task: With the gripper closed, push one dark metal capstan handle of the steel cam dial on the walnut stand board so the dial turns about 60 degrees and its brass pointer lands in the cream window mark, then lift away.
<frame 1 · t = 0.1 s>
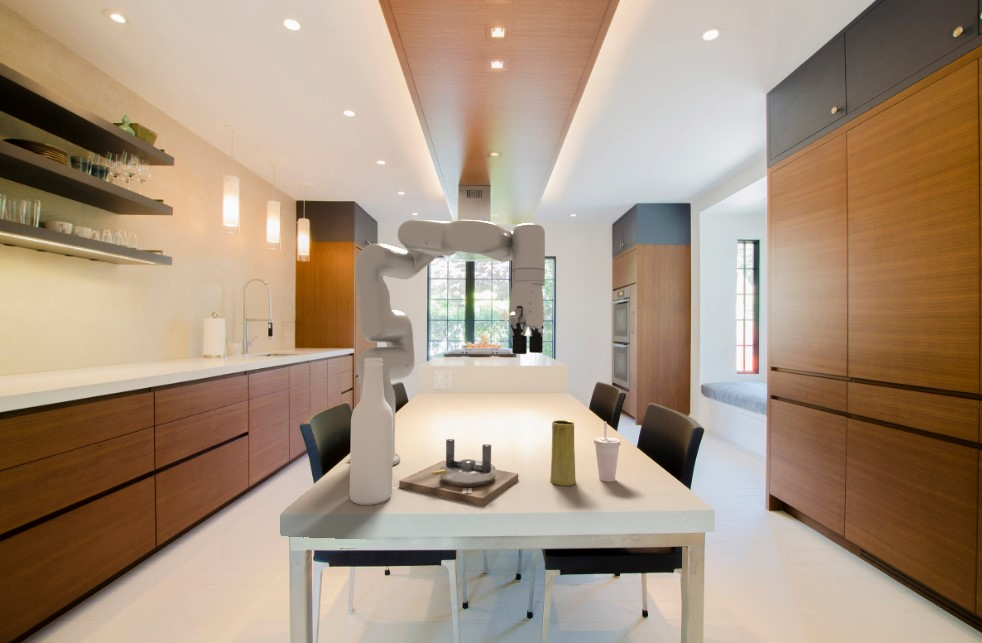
hand: (528, 353, 96), 31 cm above the table, tool pointing down, fingers open, 9 cm apart
vase: (563, 482, 101), on the table
smoothie: (607, 480, 103), on the table
stand board: (460, 483, 99), on the table
alcohol: (371, 498, 90), on the table
cam dial: (466, 460, 98), point 6 cm above the table, hinge at 0.0°
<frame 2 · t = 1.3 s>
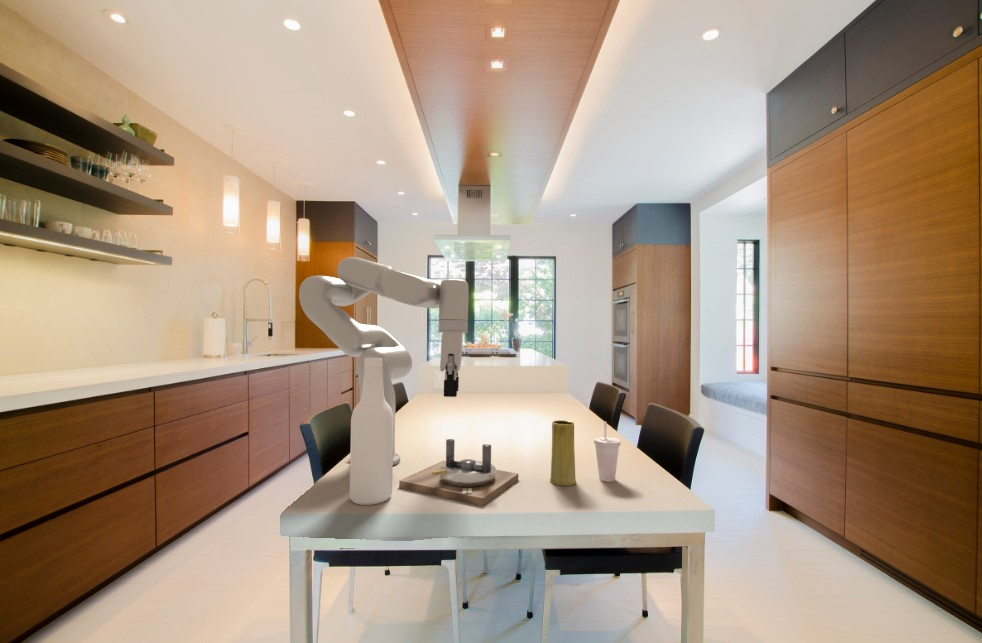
hand: (451, 393, 108), 20 cm above the table, tool pointing down, fingers open, 9 cm apart
nothing on the table moved.
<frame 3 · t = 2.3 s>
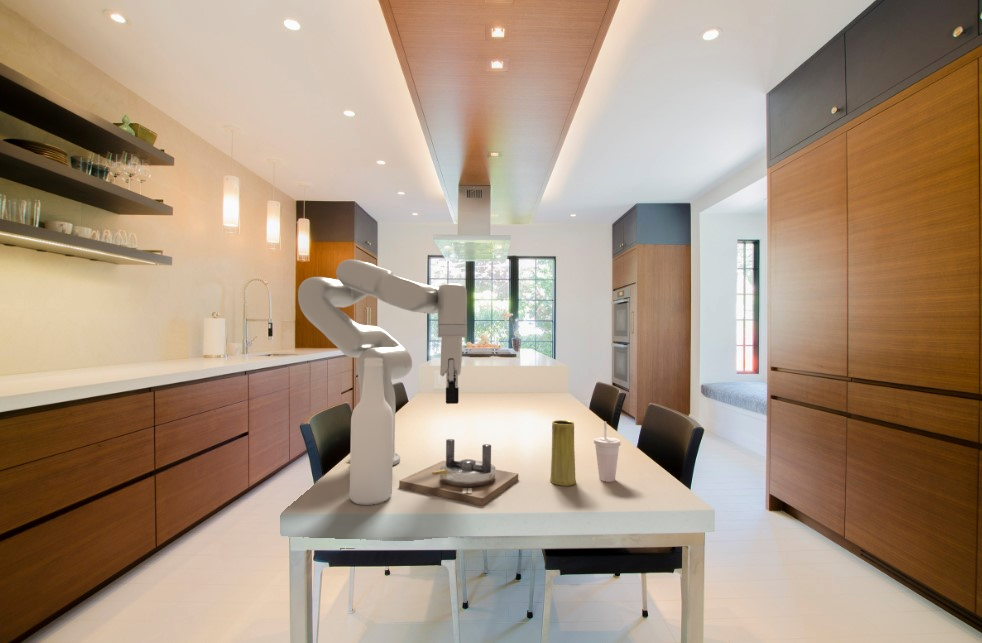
hand: (452, 403, 108), 18 cm above the table, tool pointing down, fingers closed
nothing on the table moved.
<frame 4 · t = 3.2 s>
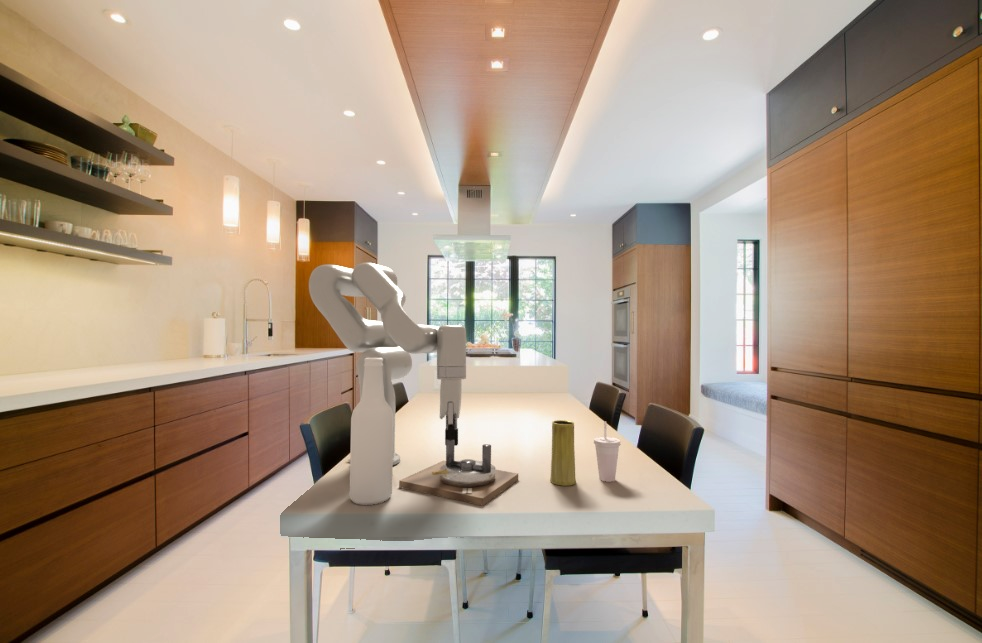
hand: (451, 444, 107), 7 cm above the table, tool pointing down, fingers closed
nothing on the table moved.
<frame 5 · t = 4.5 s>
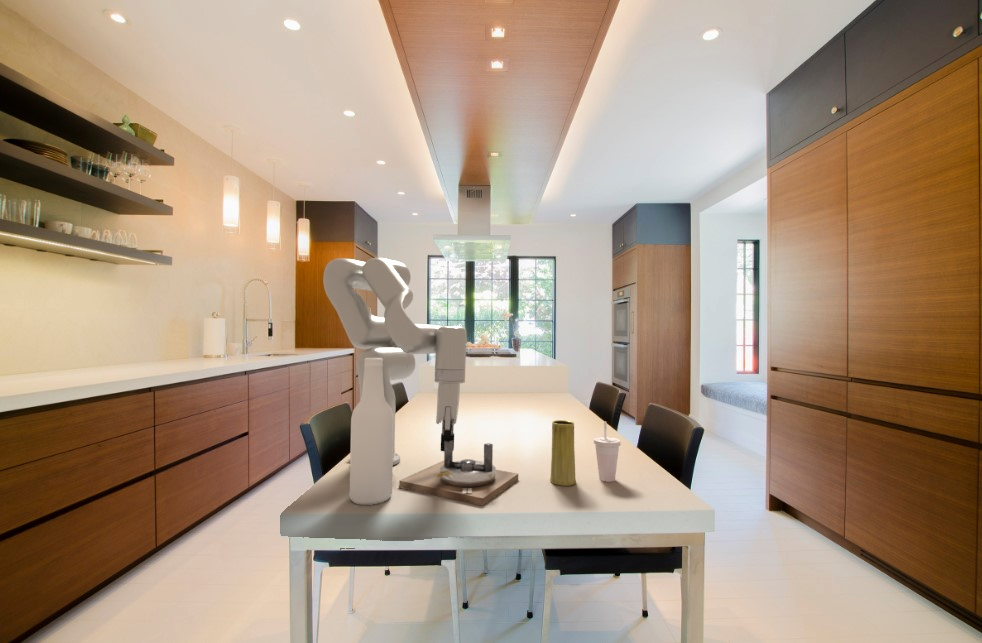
hand: (447, 450, 103), 7 cm above the table, tool pointing down, fingers closed
cam dial: (466, 460, 98), point 6 cm above the table, hinge at 10.4°, touching gripper
everything else where it was.
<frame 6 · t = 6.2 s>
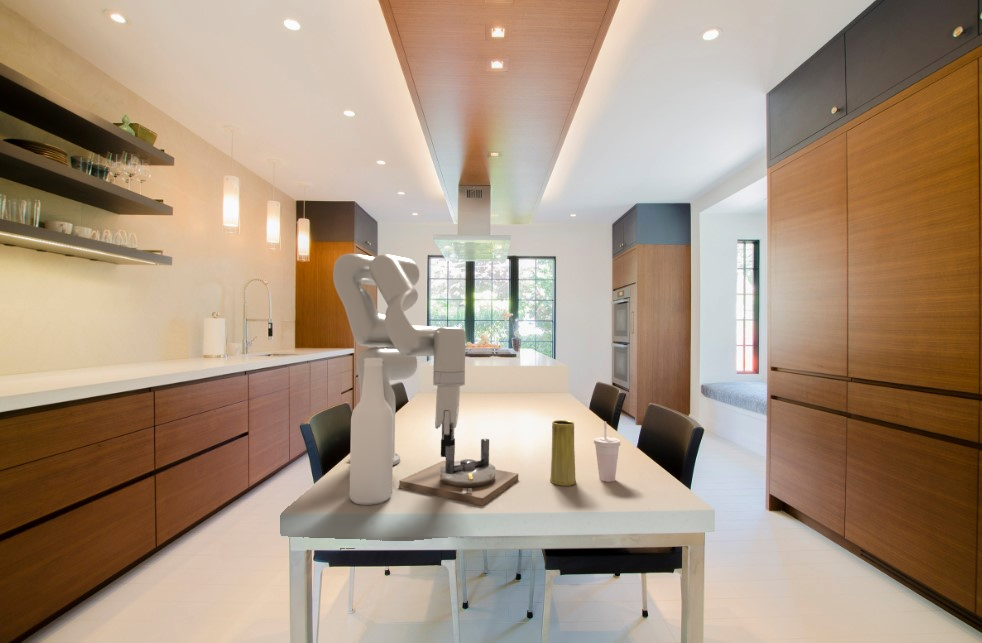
hand: (447, 455, 100), 6 cm above the table, tool pointing down, fingers closed
cam dial: (469, 460, 98), point 6 cm above the table, hinge at 65.3°
everything else where it was.
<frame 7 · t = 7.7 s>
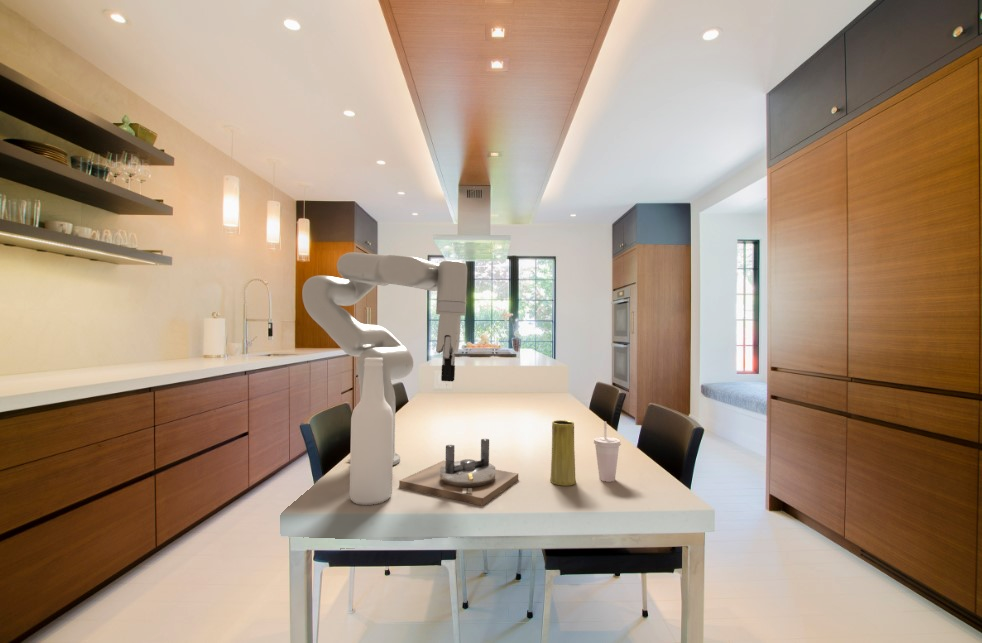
hand: (447, 380, 107), 24 cm above the table, tool pointing down, fingers closed
nothing on the table moved.
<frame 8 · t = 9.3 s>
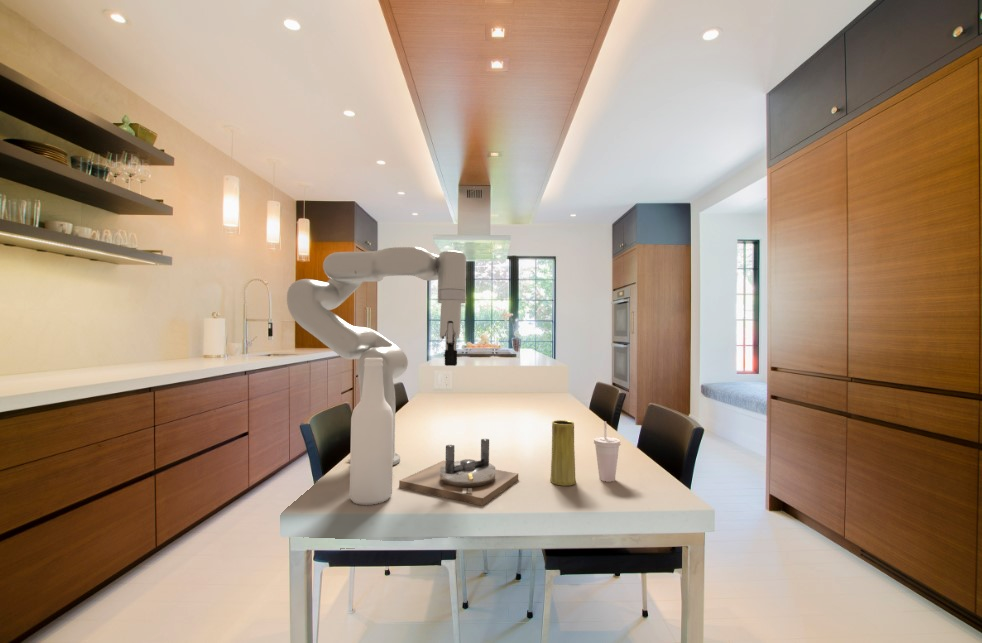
hand: (450, 365, 113), 27 cm above the table, tool pointing down, fingers closed
nothing on the table moved.
at the end: cam dial at +65° (first picture: +0°) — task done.
